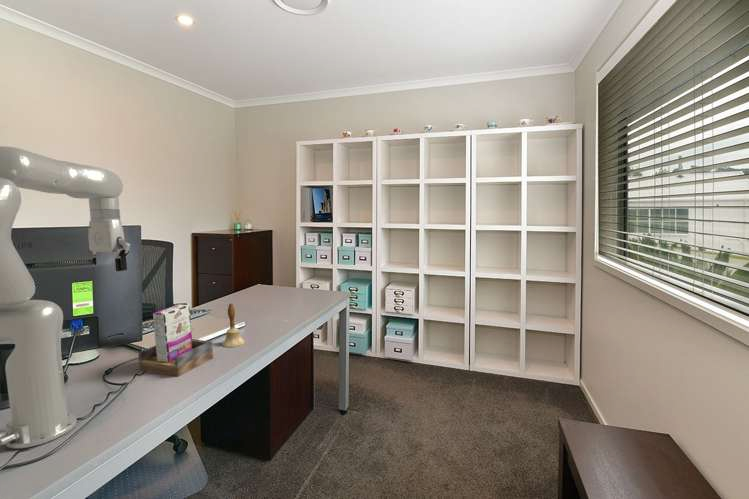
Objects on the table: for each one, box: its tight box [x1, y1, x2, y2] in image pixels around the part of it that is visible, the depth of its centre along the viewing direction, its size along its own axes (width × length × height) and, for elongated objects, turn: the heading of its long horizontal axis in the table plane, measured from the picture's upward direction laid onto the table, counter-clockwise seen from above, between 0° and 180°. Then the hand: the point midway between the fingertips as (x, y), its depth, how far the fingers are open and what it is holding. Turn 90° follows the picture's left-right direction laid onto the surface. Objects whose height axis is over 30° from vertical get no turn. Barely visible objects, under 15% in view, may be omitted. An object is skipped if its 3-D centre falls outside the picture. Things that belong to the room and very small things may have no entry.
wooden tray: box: [138, 338, 214, 377], centre depth 124 cm, size 15×16×6 cm
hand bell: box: [221, 303, 246, 348], centre depth 142 cm, size 8×8×16 cm
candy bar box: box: [152, 303, 193, 363], centre depth 122 cm, size 11×5×16 cm, turn 166°
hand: (110, 270), depth 115 cm, fingers open, 9 cm apart
